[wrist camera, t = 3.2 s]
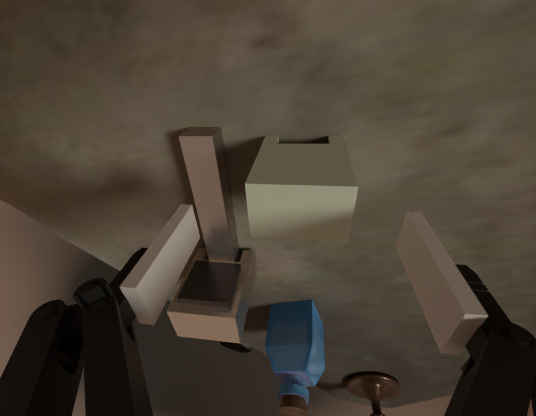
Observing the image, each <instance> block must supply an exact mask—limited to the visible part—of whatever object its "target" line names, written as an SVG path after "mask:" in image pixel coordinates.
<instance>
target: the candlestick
mask: <svg viewBox="0 0 536 416" xmlns="http://www.w3.org/2000/svg"><path fill="white" fill-rule="evenodd" d="M347 389H348V391H349V392H350V393H352V394H354V395H356V396H358V397H361V398H366V399H369V400H370V401H371V403H372V409H373V414H371V415H370V416H385V415H383V414H382V413H381V408H380V400H381V399H388V398H392V397H394V396H396V395H398V394H399V392H400V386H399V383H398V381H397V379H395V378H394V377H392V376H390V375H388V374H385V373H380V372H359V373H355V374H353V375H351V376H349V377H348V378H347Z"/></svg>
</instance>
